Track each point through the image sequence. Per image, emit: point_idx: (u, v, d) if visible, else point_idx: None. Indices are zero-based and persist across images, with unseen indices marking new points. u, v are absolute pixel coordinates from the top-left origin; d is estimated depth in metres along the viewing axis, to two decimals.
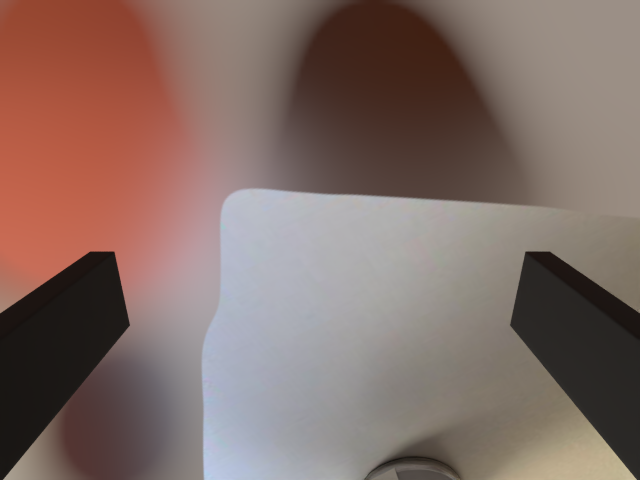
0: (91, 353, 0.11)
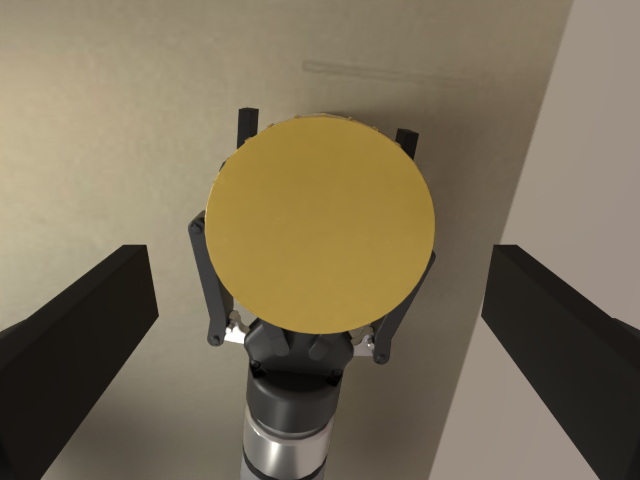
0: (127, 341, 0.11)
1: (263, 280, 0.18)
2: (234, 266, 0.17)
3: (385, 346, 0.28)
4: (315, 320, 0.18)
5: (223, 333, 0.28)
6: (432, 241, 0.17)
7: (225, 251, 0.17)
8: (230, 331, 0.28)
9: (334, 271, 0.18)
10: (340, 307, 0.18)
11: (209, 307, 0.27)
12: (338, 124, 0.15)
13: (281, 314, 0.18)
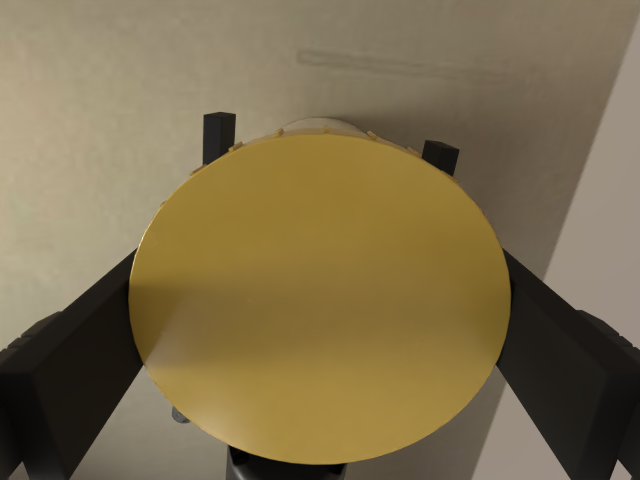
0: None
1: (229, 392, 0.11)
2: (181, 371, 0.11)
3: None
4: (312, 447, 0.12)
5: None
6: (504, 335, 0.10)
7: (165, 350, 0.11)
8: None
9: (343, 378, 0.11)
10: (351, 429, 0.12)
11: None
12: (352, 147, 0.09)
13: (259, 438, 0.12)
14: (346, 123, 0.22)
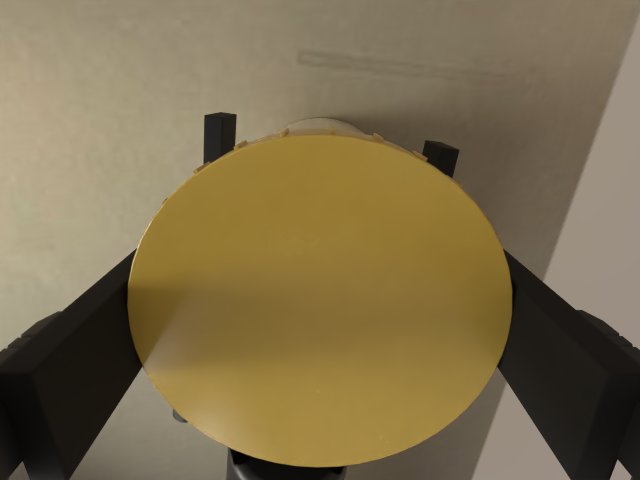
0: None
1: (427, 377, 0.11)
2: (417, 416, 0.11)
3: None
4: (478, 278, 0.10)
5: None
6: (236, 154, 0.09)
7: (398, 432, 0.12)
8: None
9: (369, 287, 0.10)
10: (436, 249, 0.09)
11: None
12: (152, 370, 0.11)
13: (482, 333, 0.10)
14: (346, 123, 0.22)
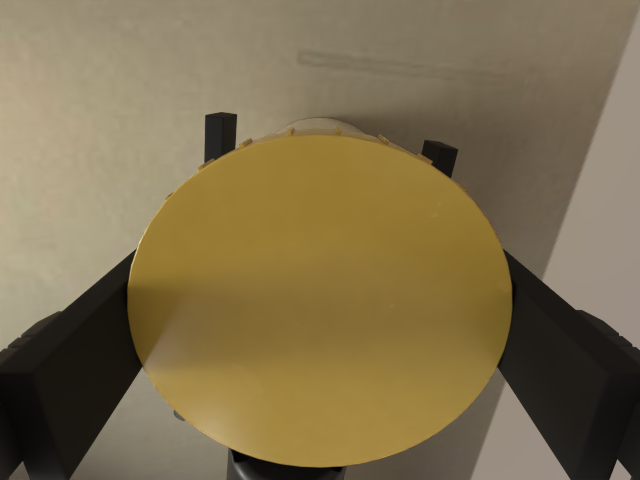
0: None
1: (326, 210, 0.09)
2: (386, 189, 0.09)
3: None
4: (192, 223, 0.09)
5: None
6: (204, 432, 0.12)
7: (419, 199, 0.09)
8: None
9: (255, 310, 0.10)
10: (188, 275, 0.10)
11: None
12: (422, 436, 0.12)
13: (244, 182, 0.09)
14: (346, 123, 0.22)
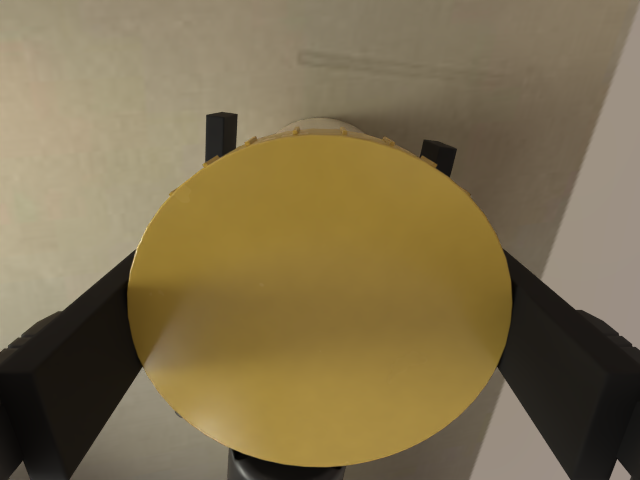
0: None
1: (207, 368, 0.11)
2: (165, 336, 0.10)
3: None
4: (269, 442, 0.12)
5: None
6: (485, 382, 0.11)
7: (156, 310, 0.10)
8: None
9: (323, 384, 0.11)
10: (314, 434, 0.12)
11: None
12: (415, 168, 0.09)
13: (220, 422, 0.11)
14: (346, 123, 0.23)
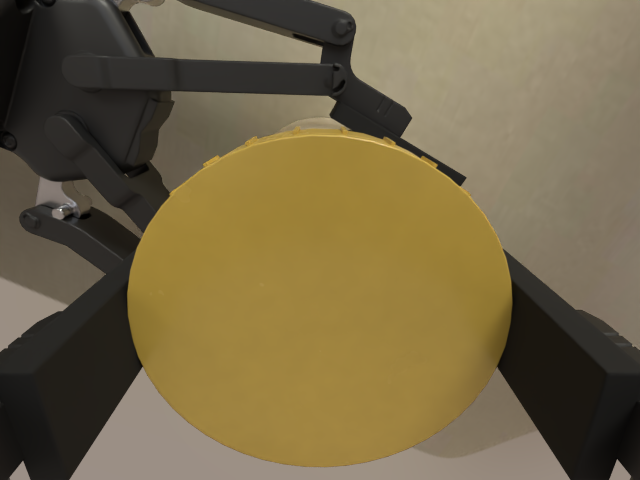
0: None
1: (207, 368, 0.11)
2: (165, 336, 0.10)
3: (54, 234, 0.18)
4: (269, 442, 0.12)
5: None
6: (485, 382, 0.11)
7: (157, 310, 0.10)
8: None
9: (323, 384, 0.11)
10: (314, 434, 0.12)
11: None
12: (415, 168, 0.09)
13: (219, 422, 0.11)
14: None
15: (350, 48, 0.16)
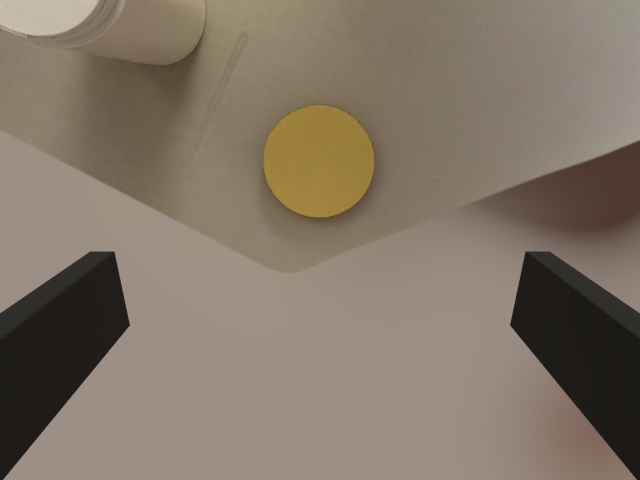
0: (91, 353, 0.11)
1: (285, 178, 0.35)
2: (273, 166, 0.35)
3: None
4: (303, 207, 0.36)
5: None
6: (369, 183, 0.36)
7: (272, 157, 0.35)
8: None
9: (320, 184, 0.36)
10: (317, 203, 0.36)
11: None
12: (343, 114, 0.33)
13: (287, 198, 0.36)
14: (191, 46, 0.32)
15: None
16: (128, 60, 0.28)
